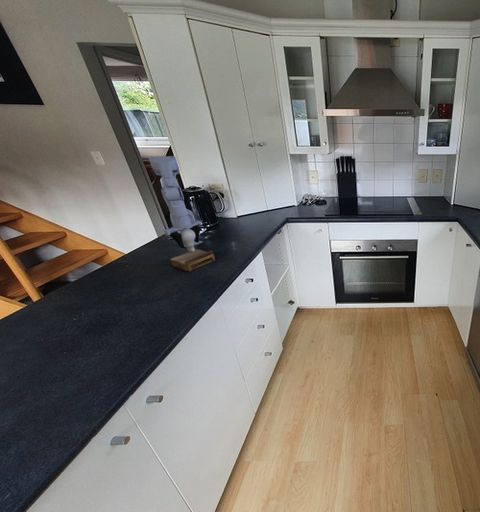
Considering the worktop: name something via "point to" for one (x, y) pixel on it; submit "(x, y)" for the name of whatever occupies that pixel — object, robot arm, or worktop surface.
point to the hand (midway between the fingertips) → (189, 244)
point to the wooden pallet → (193, 259)
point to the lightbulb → (188, 238)
